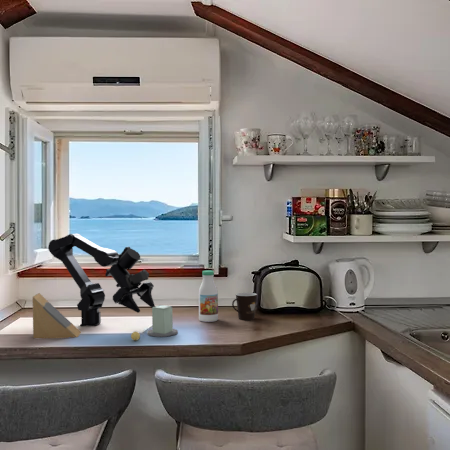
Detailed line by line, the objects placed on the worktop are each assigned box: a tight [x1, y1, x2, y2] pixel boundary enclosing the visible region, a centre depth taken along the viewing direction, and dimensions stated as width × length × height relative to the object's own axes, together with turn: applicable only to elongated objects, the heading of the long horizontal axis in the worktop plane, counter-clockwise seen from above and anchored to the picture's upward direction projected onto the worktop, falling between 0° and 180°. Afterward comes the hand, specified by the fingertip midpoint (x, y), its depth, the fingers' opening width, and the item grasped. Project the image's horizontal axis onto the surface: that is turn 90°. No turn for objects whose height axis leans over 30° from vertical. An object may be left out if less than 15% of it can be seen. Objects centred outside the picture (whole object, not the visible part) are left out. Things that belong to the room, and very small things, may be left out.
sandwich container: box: [32, 292, 82, 339], centre depth 181 cm, size 9×15×15 cm, turn 96°
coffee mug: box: [231, 292, 258, 321], centre depth 206 cm, size 12×9×10 cm
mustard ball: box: [130, 331, 141, 341], centre depth 173 cm, size 3×3×3 cm
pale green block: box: [151, 304, 174, 334], centre depth 183 cm, size 5×5×9 cm
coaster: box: [146, 328, 179, 338], centre depth 183 cm, size 11×11×1 cm
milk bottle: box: [198, 269, 219, 323], centre depth 204 cm, size 8×8×20 cm
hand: (146, 309), depth 186 cm, fingers open, 9 cm apart
